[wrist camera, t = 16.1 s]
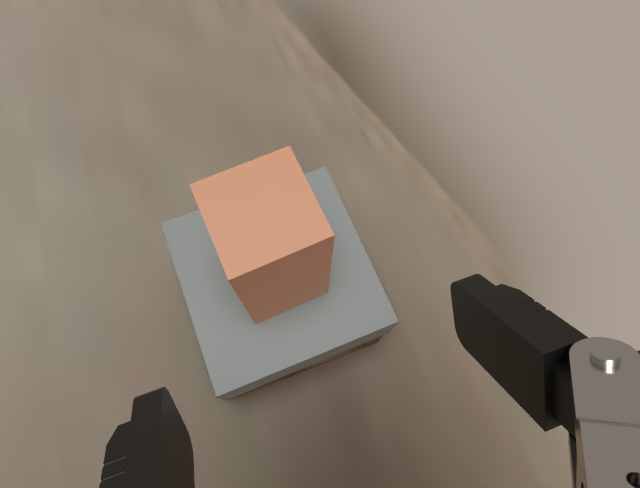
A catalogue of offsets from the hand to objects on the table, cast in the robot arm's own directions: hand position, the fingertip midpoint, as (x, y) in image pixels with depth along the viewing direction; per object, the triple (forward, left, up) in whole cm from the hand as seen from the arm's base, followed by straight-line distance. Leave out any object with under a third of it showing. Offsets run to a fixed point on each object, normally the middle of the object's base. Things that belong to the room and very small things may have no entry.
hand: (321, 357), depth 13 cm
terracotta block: (+1, +8, -16) cm, 18 cm away
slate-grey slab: (+1, +8, -20) cm, 22 cm away
